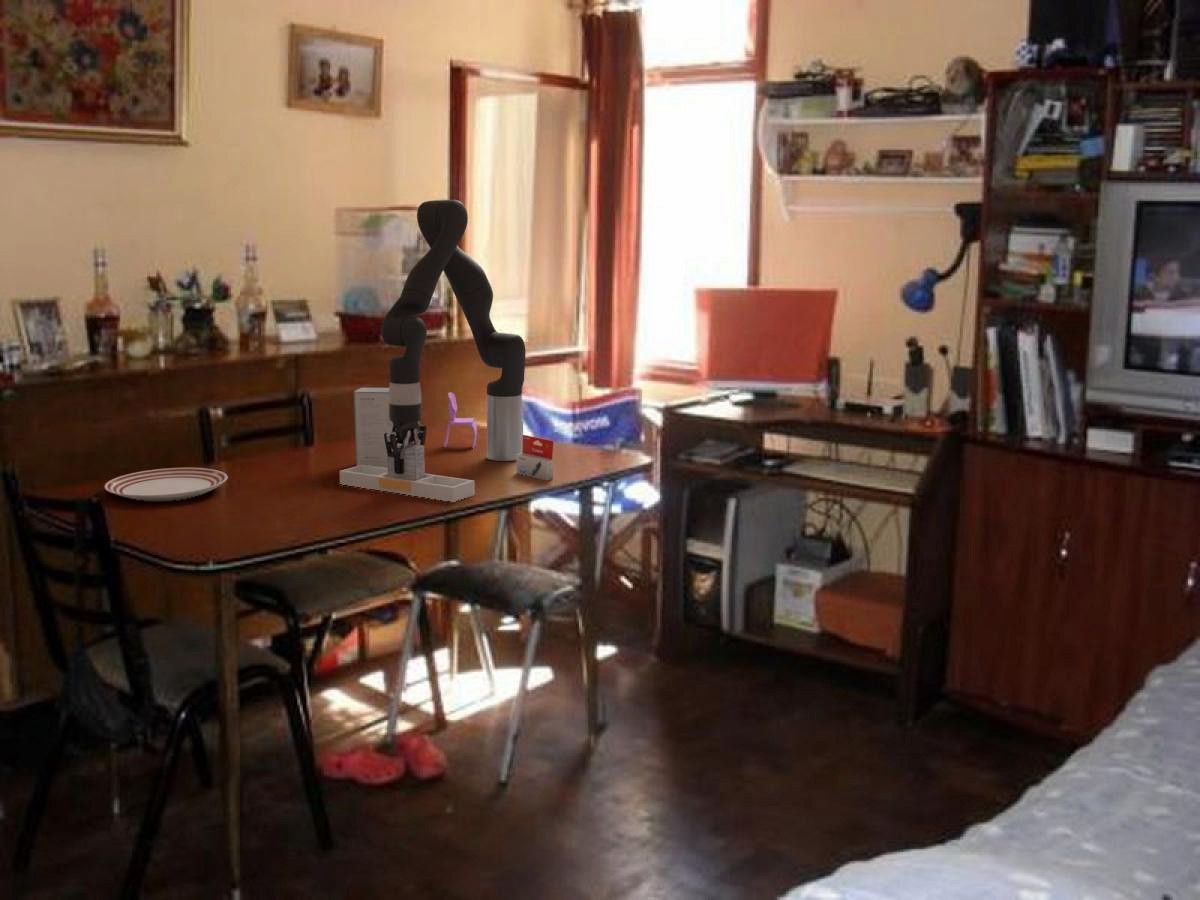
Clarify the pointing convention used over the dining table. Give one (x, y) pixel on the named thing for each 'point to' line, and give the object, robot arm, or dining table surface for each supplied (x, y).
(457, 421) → the toy chair
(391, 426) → the hard drive box
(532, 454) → the ink cartridge box
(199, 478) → the dinner plate
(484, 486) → the dining table surface
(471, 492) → the compartment tray
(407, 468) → the medicine box
